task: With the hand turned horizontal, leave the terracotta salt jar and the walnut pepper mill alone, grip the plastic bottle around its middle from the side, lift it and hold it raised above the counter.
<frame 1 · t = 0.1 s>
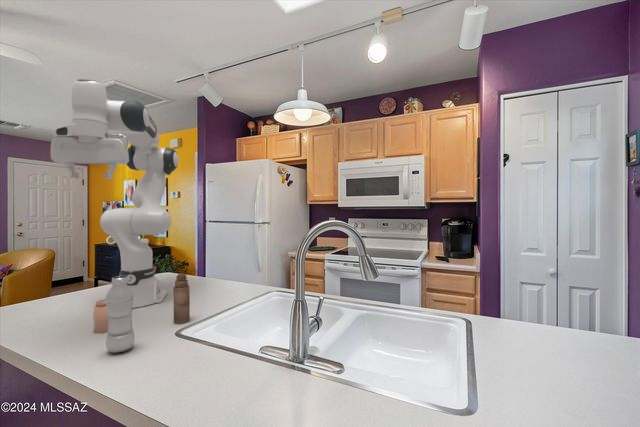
hand: (91, 178, 92), 48 cm above the countertop, tool pointing down, fingers open, 8 cm apart
pepper mill: (181, 321, 103), on the countertop
salt jar: (104, 329, 95), on the countertop
plastic bottle: (120, 351, 81), on the countertop
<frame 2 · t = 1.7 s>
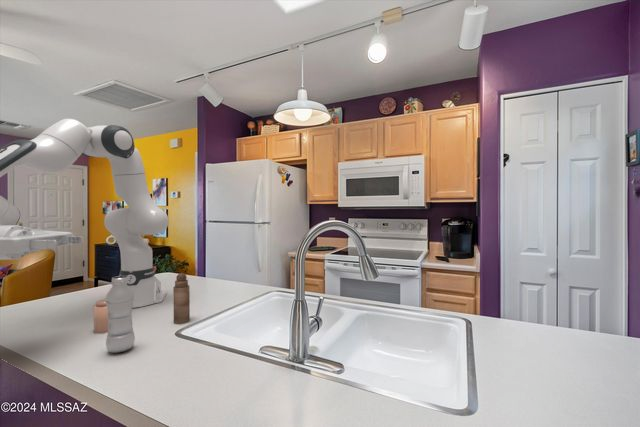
hand: (70, 241, 79), 30 cm above the countertop, tool horizontal, fingers open, 8 cm apart
nothing on the countertop moved.
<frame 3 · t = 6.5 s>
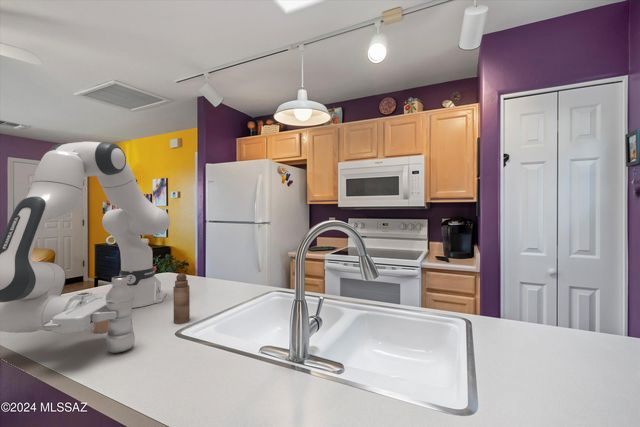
hand: (123, 309, 82), 11 cm above the countertop, tool horizontal, fingers closed on plastic bottle, 6 cm apart
plastic bottle: (120, 351, 81), on the countertop, touching gripper
everything else where it was.
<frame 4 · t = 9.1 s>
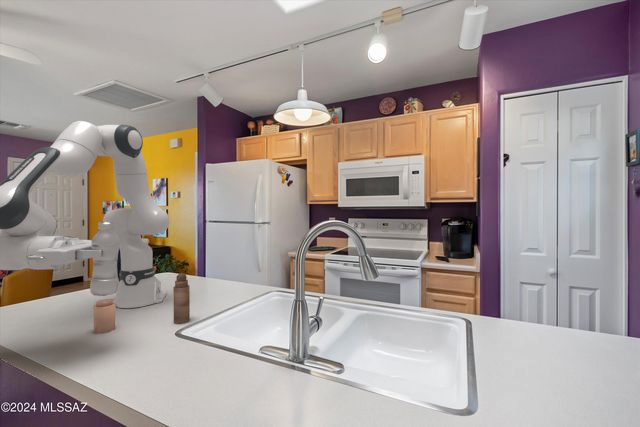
hand: (109, 251, 82), 27 cm above the countertop, tool horizontal, fingers closed on plastic bottle, 6 cm apart
plastic bottle: (104, 295, 82), point 15 cm above the countertop, touching gripper
everything else where it was.
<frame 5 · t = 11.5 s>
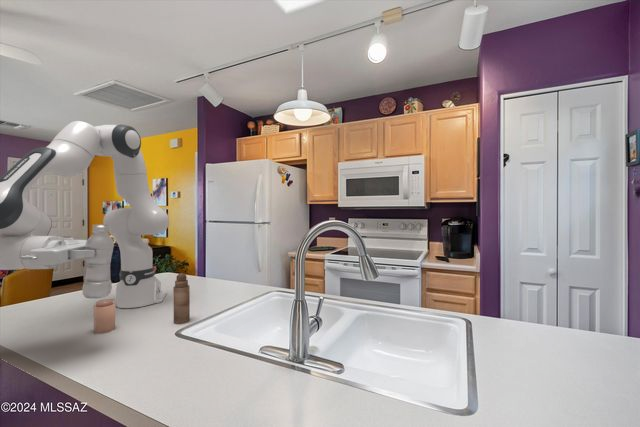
hand: (103, 251, 82), 27 cm above the countertop, tool horizontal, fingers closed on plastic bottle, 6 cm apart
plastic bottle: (96, 298, 82), point 14 cm above the countertop, touching gripper
everything else where it was.
at the end: the gripper is holding plastic bottle; plastic bottle point 13.9 cm above the countertop; salt jar moved 0.0 cm from its start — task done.
